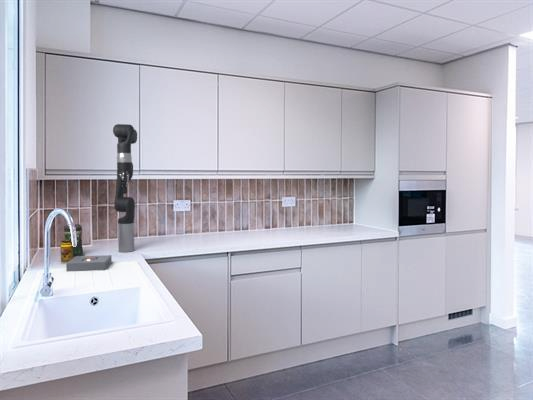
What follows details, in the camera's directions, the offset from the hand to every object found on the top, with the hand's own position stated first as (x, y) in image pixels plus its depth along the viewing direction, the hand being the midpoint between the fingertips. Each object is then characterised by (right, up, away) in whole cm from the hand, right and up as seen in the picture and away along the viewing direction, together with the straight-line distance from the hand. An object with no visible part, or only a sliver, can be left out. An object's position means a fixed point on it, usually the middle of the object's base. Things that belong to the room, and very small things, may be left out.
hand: (125, 193), depth 217 cm
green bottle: (-33, -36, +11) cm, 50 cm away
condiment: (-31, -37, -1) cm, 49 cm away
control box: (-14, -38, -12) cm, 42 cm away
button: (-14, -37, -12) cm, 42 cm away
